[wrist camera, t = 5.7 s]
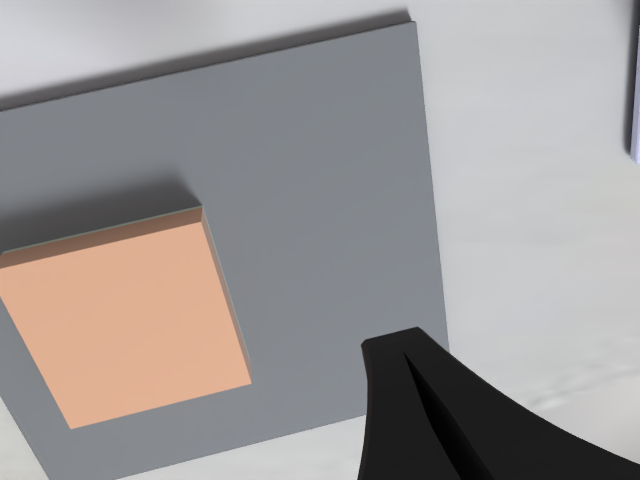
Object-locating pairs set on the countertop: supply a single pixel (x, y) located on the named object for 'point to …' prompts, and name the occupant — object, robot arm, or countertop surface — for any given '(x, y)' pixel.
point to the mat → (241, 231)
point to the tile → (127, 316)
